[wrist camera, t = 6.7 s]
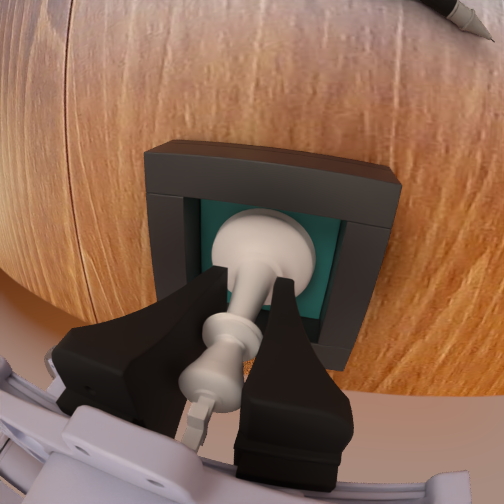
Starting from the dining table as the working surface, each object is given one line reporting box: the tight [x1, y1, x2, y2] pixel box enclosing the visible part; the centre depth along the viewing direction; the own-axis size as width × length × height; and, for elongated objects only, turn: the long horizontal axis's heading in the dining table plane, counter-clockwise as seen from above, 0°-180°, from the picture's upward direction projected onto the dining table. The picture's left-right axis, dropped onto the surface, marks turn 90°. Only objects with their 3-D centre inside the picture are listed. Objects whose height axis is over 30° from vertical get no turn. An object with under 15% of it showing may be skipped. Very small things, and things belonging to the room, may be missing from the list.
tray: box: [144, 140, 402, 371], centre depth 15 cm, size 10×10×3 cm
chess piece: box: [178, 208, 316, 454], centre depth 11 cm, size 5×5×10 cm
